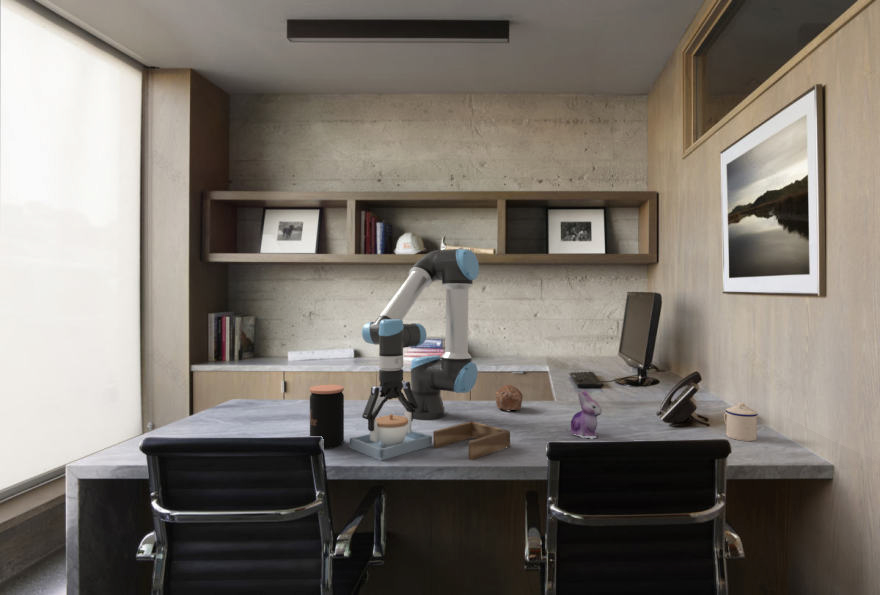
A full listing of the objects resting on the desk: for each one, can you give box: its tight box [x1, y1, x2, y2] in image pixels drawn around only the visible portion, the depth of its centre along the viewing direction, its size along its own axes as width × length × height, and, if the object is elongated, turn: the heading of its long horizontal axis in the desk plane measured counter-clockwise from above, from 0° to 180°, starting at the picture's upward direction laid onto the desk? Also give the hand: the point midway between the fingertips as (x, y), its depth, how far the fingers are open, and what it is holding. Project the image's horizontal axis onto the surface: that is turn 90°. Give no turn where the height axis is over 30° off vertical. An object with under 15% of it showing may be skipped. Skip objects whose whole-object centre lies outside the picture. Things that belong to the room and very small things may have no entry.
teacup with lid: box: [723, 401, 758, 442], centre depth 168 cm, size 12×9×12 cm
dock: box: [432, 420, 511, 461], centre depth 156 cm, size 16×18×5 cm
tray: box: [349, 429, 433, 461], centre depth 156 cm, size 16×20×3 cm
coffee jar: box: [309, 384, 345, 449], centre depth 159 cm, size 11×11×18 cm
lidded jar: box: [375, 413, 408, 447], centre depth 156 cm, size 11×11×9 cm
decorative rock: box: [495, 383, 524, 411], centre depth 206 cm, size 13×11×10 cm
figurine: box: [570, 389, 603, 436], centre depth 169 cm, size 9×10×15 cm
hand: (391, 436), depth 156 cm, fingers open, 13 cm apart
